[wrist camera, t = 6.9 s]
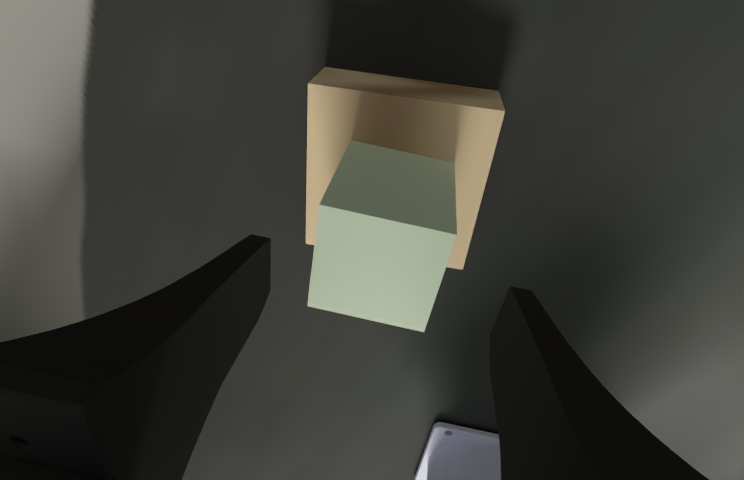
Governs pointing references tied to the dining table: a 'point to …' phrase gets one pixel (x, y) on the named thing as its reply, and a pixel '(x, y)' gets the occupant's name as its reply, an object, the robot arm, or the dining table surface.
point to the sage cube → (384, 236)
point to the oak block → (403, 134)
